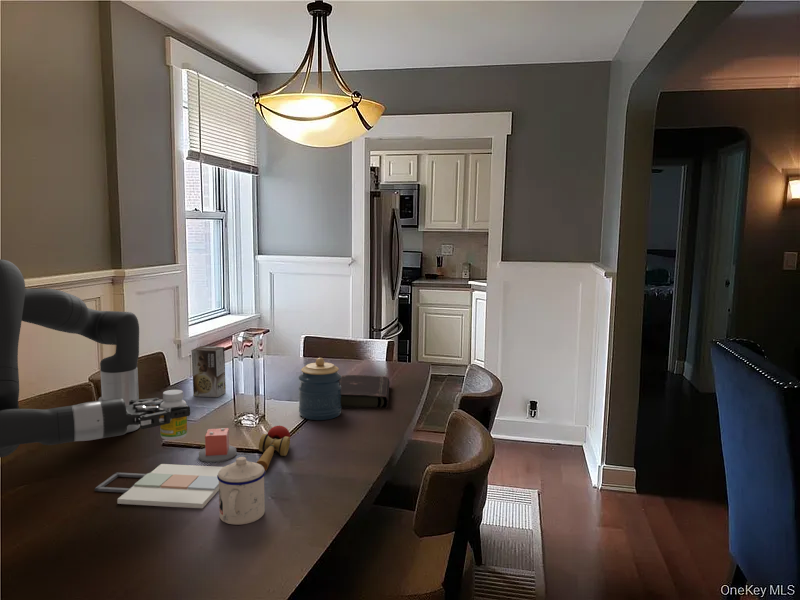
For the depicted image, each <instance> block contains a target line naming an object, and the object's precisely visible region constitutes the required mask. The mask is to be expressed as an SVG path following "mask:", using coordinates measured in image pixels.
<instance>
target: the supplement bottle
mask: <svg viewBox="0 0 800 600" xmlns="http://www.w3.org/2000/svg"><path fill="white" fill-rule="evenodd" d="M183 398H184V391H183V390H181V389H170V390H169V389H168V390H165V391H163V392H162V400H164V401H163V402H162V403H161V404H160V408H172V407H179V406H186V405H187V401H185V400H184V399H183ZM160 417H164V415H163V416H160ZM159 427H160V430H159V431H160V437H161V438H162V439H163V440H169V441H170V440H179V439H183V438H184V437H186V436H187V434H188V416H186V417H180V418H174V419H172V420H170V423H169V424H164V425H160V426H159Z"/></svg>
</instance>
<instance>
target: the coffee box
mask: <svg viewBox="0 0 800 600" xmlns="http://www.w3.org/2000/svg"><path fill="white" fill-rule="evenodd" d="M225 355H226V354H225V346H209V345H208V346H207V345H206V346H204V345H202V346H201V345H200V346H197V347H195V348H192V349H191V363H192V364H191V367H192V370H191V371H192V388H193V390H192V392H193V393H192V394H193V395H192V396H194V397H204V398H205V397H206V398H219V397H221V396H222V395H224V394H226V393H227V392H226V391H227V390H226V386H227V385H226V358H225V357H226V356H225Z"/></svg>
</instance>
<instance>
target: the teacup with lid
mask: <svg viewBox="0 0 800 600" xmlns="http://www.w3.org/2000/svg"><path fill="white" fill-rule="evenodd" d="M235 459H236V460H235V461H234V462H233V463H230V464H227V465H225V466H222V467H223V468H222V469H221V470H220V471H219V472H218V475H217V478H218V480H219V491H218V505H219V507H218V508H219V509H218V510H219V518H220V520H221V521H222V522H224V523H226V524H229V525H234V526H239V525H248V524H252V523H254V522H256V521H258V520H259V519H261V518H262V517H264V514H265V512H266V511H265V509H266V508H265V507H266V506H265V503H266V502H265V476H266V475H265V474H266V471H265V470H264V467H263V466H262V465H260V464H258V463H257V462H253V461H249V460H247V458H246V457H245V456H239V457H237V458H235Z"/></svg>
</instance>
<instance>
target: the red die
mask: <svg viewBox="0 0 800 600" xmlns="http://www.w3.org/2000/svg"><path fill="white" fill-rule="evenodd" d="M204 439H205V440H204V443H205V447H204V448H202V449H200V450H199V451H198V459H199V461H202V462H205V463H222V462H226V461H229V460H232V459H234V458H235V457H236V456H237V447H235V446H233V445H231V444H230V429H229V427H226V428H225V427H224V428H223V427H221V428H208V429H207V431H206V434H205V435H204Z"/></svg>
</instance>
